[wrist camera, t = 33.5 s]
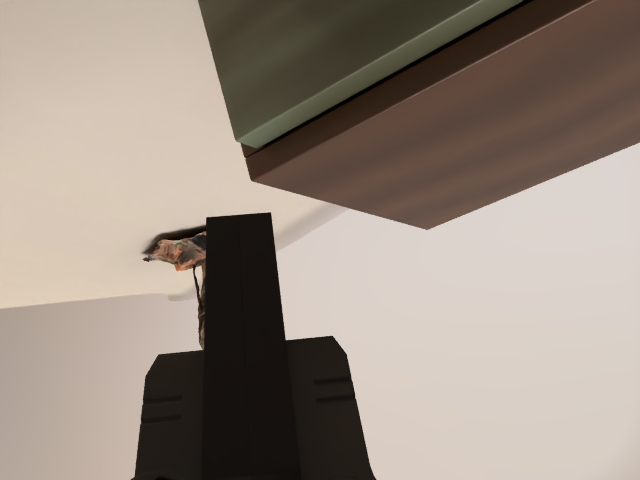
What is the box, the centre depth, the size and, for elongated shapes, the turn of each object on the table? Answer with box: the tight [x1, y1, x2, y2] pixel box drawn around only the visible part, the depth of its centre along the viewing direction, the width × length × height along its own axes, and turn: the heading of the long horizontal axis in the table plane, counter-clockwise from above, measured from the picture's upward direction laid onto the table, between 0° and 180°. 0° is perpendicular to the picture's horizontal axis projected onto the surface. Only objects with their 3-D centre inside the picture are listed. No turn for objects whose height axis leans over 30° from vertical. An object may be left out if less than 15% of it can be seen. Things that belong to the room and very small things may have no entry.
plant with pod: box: [143, 232, 206, 350], centre depth 58 cm, size 8×11×20 cm
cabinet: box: [241, 0, 640, 230], centre depth 26 cm, size 17×14×11 cm
